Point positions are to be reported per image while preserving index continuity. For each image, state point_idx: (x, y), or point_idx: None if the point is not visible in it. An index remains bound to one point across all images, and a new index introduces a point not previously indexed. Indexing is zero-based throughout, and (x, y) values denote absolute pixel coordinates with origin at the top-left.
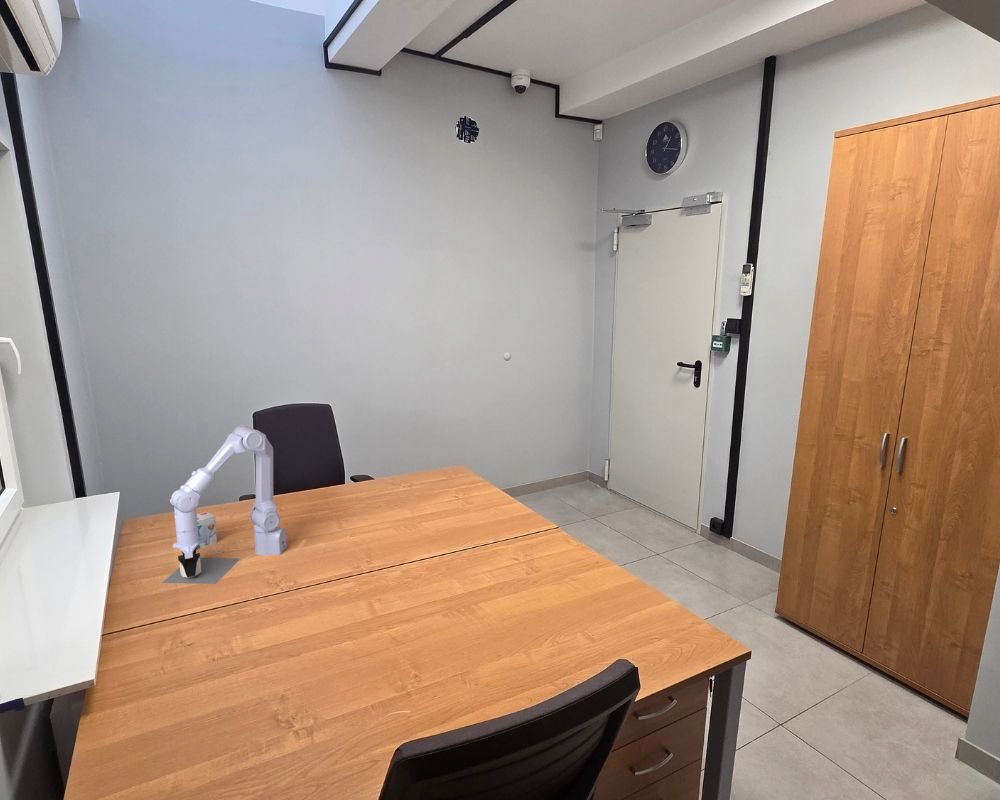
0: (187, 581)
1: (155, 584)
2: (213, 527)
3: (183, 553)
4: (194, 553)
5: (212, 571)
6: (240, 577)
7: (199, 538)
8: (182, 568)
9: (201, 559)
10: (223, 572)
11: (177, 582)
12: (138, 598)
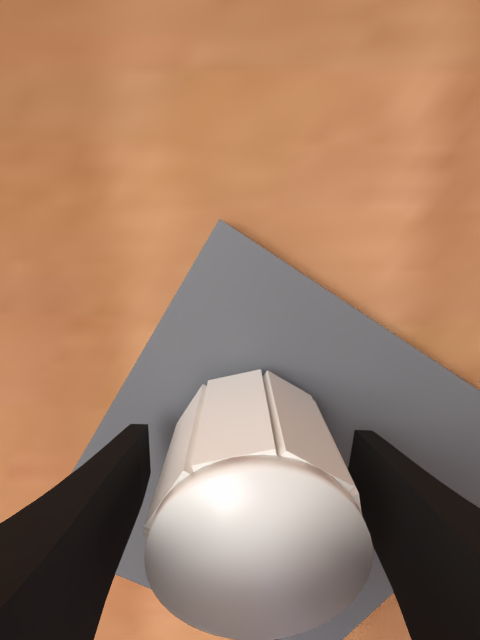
0: (144, 400)
1: (277, 170)
2: None
3: (451, 542)
4: (405, 603)
5: None
6: (116, 617)
7: None
8: (191, 437)
9: (466, 493)
10: None
11: (163, 336)
12: (66, 16)
